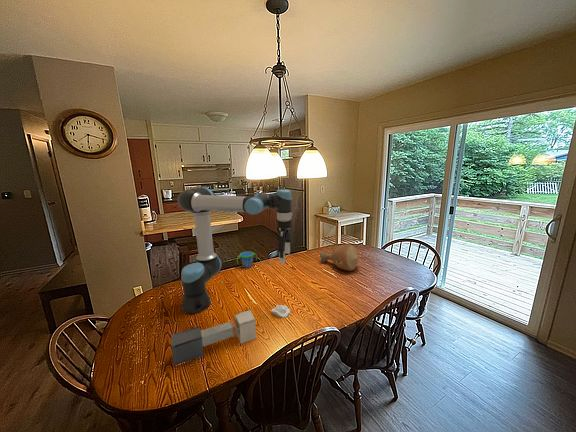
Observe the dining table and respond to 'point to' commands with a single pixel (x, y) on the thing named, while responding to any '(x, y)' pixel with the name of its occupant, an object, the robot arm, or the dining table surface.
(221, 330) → the pale grey rectangular box
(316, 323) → the dining table surface
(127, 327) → the dining table surface
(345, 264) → the jug
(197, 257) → the robot arm
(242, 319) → the socket
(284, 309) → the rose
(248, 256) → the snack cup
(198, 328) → the dark grey rectangular box
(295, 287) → the dining table surface
